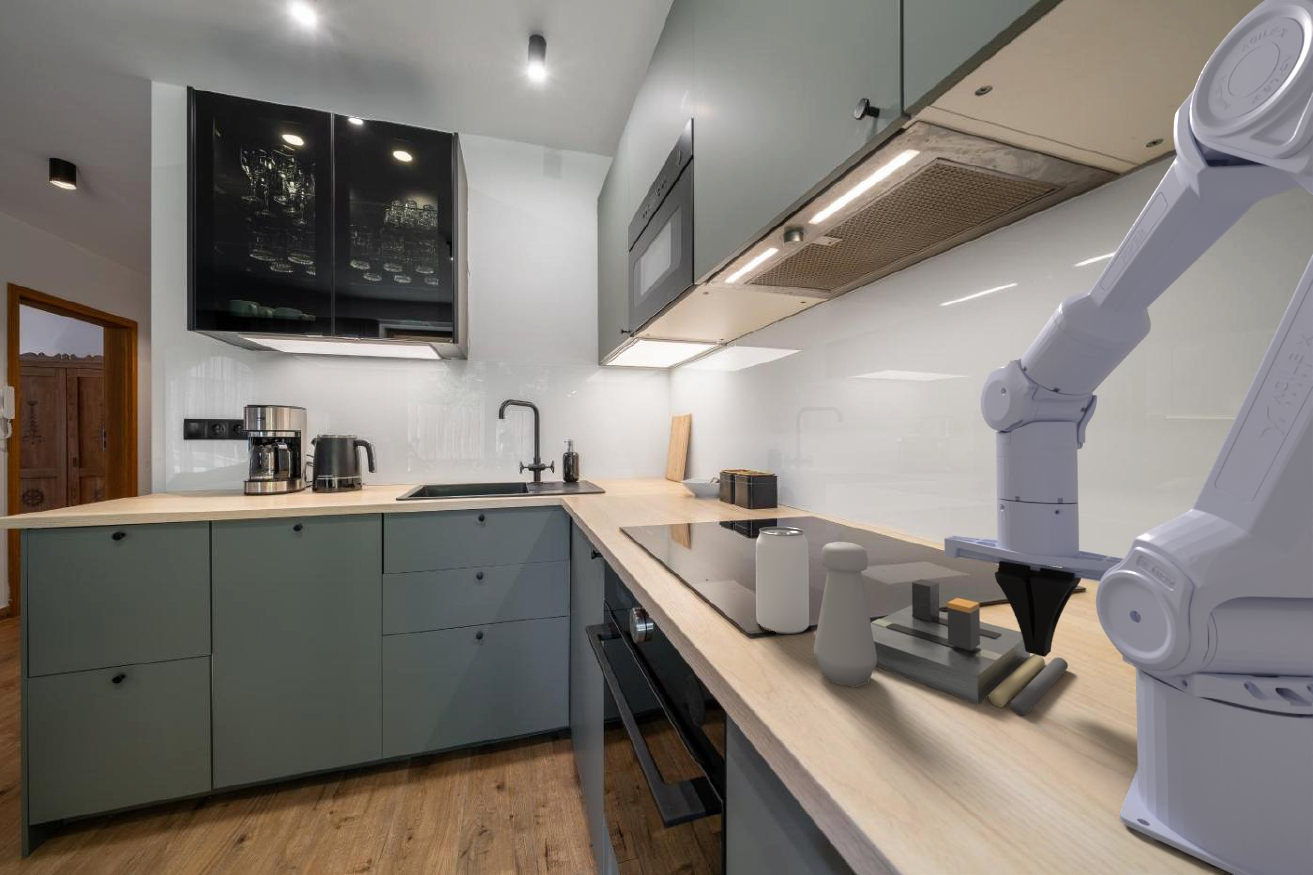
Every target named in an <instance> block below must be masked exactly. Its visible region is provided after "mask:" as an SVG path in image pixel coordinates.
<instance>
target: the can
mask: <svg viewBox="0 0 1313 875" xmlns="http://www.w3.org/2000/svg"><path fill="white" fill-rule="evenodd" d="M758 531H759V534H758V537H757V539H756V542H755V602H756V603H755V605H756V607H755V610H756V612H755V613H756V614H755V615H756V616H755V617H756V622H757V624H758V625H759V624H760V625H761V626H763V627H766V628H769V629H771V630H773V631H775V632H776V633H775V634H780V635H798V634H801V633H804V632H805V631H806V630H807V629H808V628H809V626H810V597H809V596H810V583H809V582H810V581H809V580H810V577H809V576H810V573H809V571H810V569H809V565H810V564H809V562H810V561H809V543H808V541H807V538H806V536H805V533H806V532H805V530H803V529H800V528H796V527H788V526H765V527H762V528H759V529H758ZM760 625H759V626H760Z"/></svg>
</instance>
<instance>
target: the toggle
mask: <svg viewBox="0 0 1313 875" xmlns="http://www.w3.org/2000/svg"><path fill="white" fill-rule="evenodd" d="M980 611H981V610H980V602H976V601H973V600H968V599H964V598H959V597H956V598H954V599H952V600H950V601H948V602H947V613H948V644H950V645H954V646H957V647H960V648H964V649H967V650H970V651H971V650H973V649H974V648H975V647H977V646H978V645H980V622H981V620H980V618H981V617H980V616H981V615H980V613H981V612H980Z"/></svg>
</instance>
